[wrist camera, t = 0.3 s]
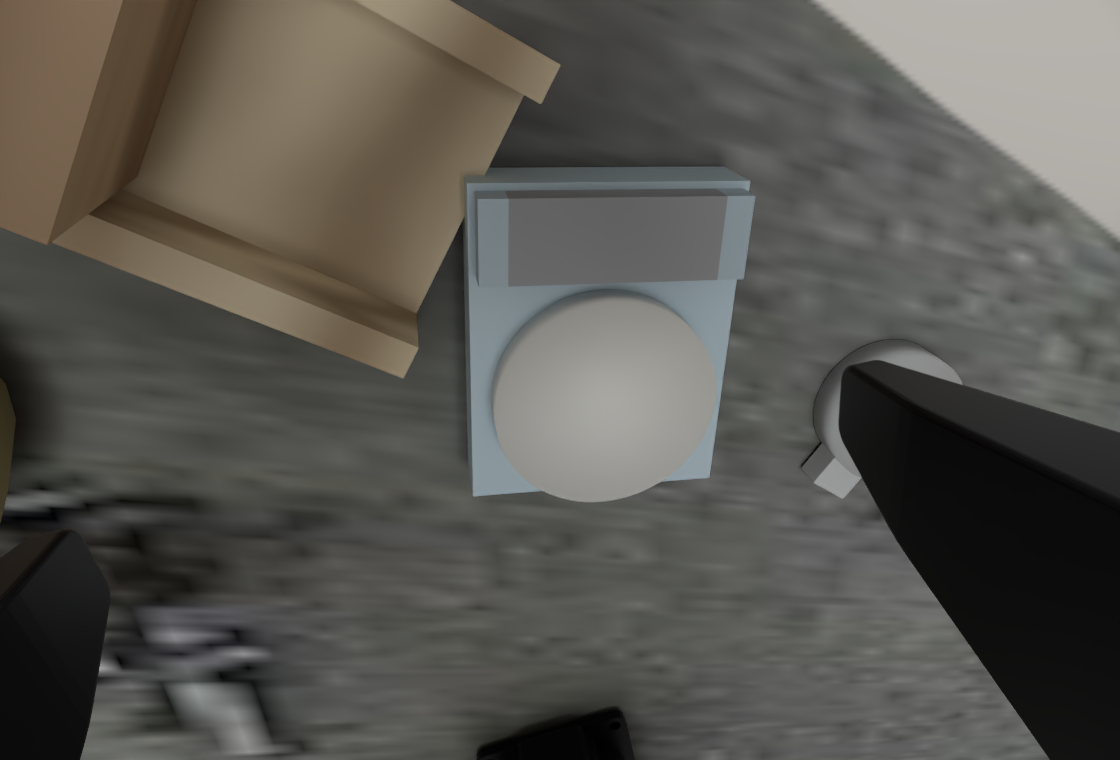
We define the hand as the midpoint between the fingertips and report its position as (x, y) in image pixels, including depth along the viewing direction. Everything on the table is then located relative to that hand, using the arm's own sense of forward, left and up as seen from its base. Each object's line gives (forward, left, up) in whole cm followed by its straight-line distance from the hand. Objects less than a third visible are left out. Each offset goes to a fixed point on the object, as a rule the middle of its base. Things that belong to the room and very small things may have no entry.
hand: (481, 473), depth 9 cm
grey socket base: (-6, -4, -15) cm, 17 cm away
